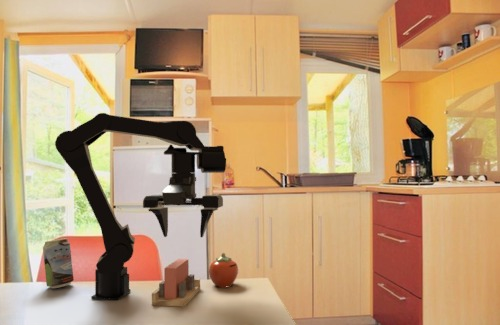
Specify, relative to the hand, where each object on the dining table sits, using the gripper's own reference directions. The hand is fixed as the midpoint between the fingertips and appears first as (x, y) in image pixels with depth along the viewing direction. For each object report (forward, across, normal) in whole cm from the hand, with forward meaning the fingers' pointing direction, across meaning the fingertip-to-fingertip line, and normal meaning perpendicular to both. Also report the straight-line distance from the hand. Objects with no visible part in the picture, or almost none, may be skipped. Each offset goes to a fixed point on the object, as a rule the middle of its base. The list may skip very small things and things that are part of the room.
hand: (183, 236), depth 91 cm
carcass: (+12, 0, -6) cm, 14 cm away
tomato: (+13, +9, +4) cm, 16 cm away
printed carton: (+13, -32, -2) cm, 34 cm away
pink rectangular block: (+12, 0, -6) cm, 13 cm away
